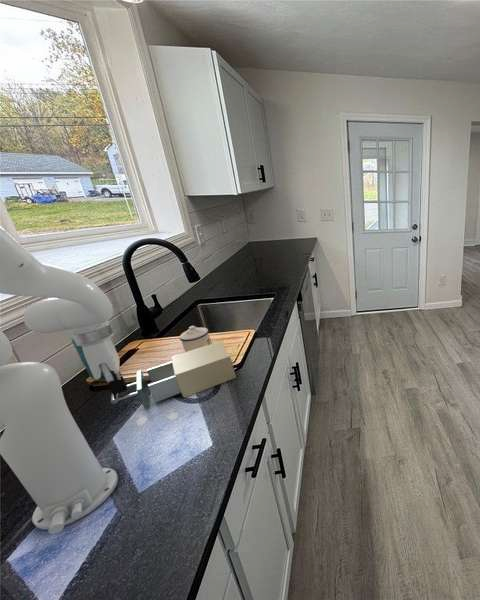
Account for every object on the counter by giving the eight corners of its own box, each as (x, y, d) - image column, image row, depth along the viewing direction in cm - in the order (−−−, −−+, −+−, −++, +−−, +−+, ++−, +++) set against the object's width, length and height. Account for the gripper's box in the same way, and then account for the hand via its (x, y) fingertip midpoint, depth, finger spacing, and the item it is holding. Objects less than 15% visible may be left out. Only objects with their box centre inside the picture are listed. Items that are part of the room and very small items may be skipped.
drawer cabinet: (183, 397, 93) (174, 375, 90) (178, 377, 103) (170, 356, 100) (236, 377, 101) (229, 356, 98) (227, 360, 111) (220, 340, 108)
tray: (116, 419, 85) (106, 400, 82) (117, 397, 94) (109, 379, 91) (199, 388, 96) (193, 370, 93) (193, 370, 105) (187, 354, 102)
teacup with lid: (216, 355, 115) (207, 327, 111) (187, 364, 111) (176, 335, 106) (213, 343, 124) (204, 316, 120) (186, 350, 120) (176, 323, 116)
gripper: (77, 329, 85) (105, 384, 92) (68, 350, 74) (100, 411, 81) (113, 320, 89) (137, 374, 96) (110, 339, 78) (136, 398, 85)
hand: (120, 391), depth 89 cm, fingers closed
